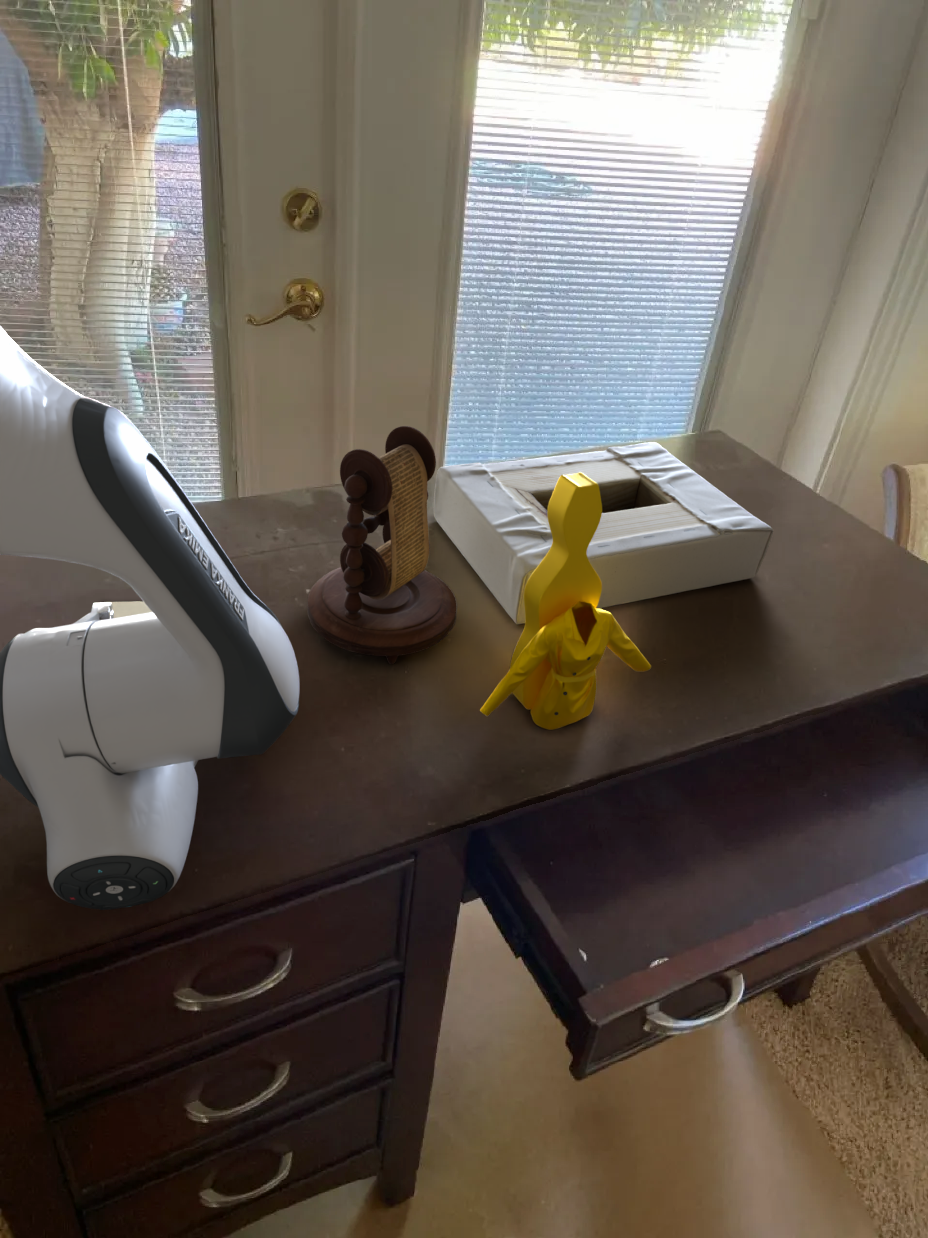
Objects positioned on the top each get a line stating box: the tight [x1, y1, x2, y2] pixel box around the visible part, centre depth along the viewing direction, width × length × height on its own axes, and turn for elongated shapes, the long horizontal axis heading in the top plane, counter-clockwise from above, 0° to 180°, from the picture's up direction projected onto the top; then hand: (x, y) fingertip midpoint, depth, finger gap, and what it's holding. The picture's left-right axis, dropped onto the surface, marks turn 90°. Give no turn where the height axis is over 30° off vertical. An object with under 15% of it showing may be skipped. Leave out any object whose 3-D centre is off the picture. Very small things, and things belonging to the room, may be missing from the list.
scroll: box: [307, 425, 458, 665], centre depth 84 cm, size 15×15×20 cm
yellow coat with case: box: [479, 472, 652, 731], centre depth 75 cm, size 18×8×22 cm, turn 117°
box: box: [433, 441, 774, 625], centre depth 103 cm, size 23×8×32 cm
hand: (161, 607), depth 78 cm, fingers open, 8 cm apart
